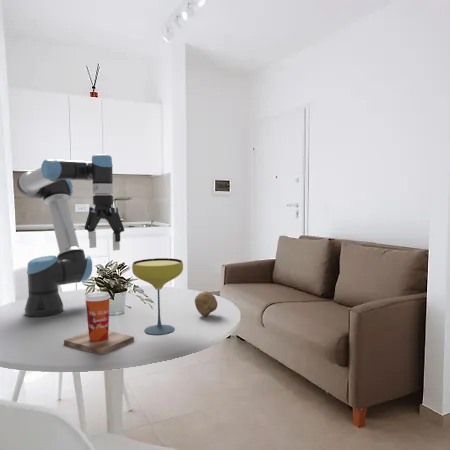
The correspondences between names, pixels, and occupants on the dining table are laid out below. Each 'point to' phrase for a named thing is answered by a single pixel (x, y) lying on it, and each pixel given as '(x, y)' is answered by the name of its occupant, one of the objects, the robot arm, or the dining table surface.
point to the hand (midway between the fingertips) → (104, 248)
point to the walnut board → (99, 342)
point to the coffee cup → (98, 315)
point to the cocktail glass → (158, 282)
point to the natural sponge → (205, 303)
